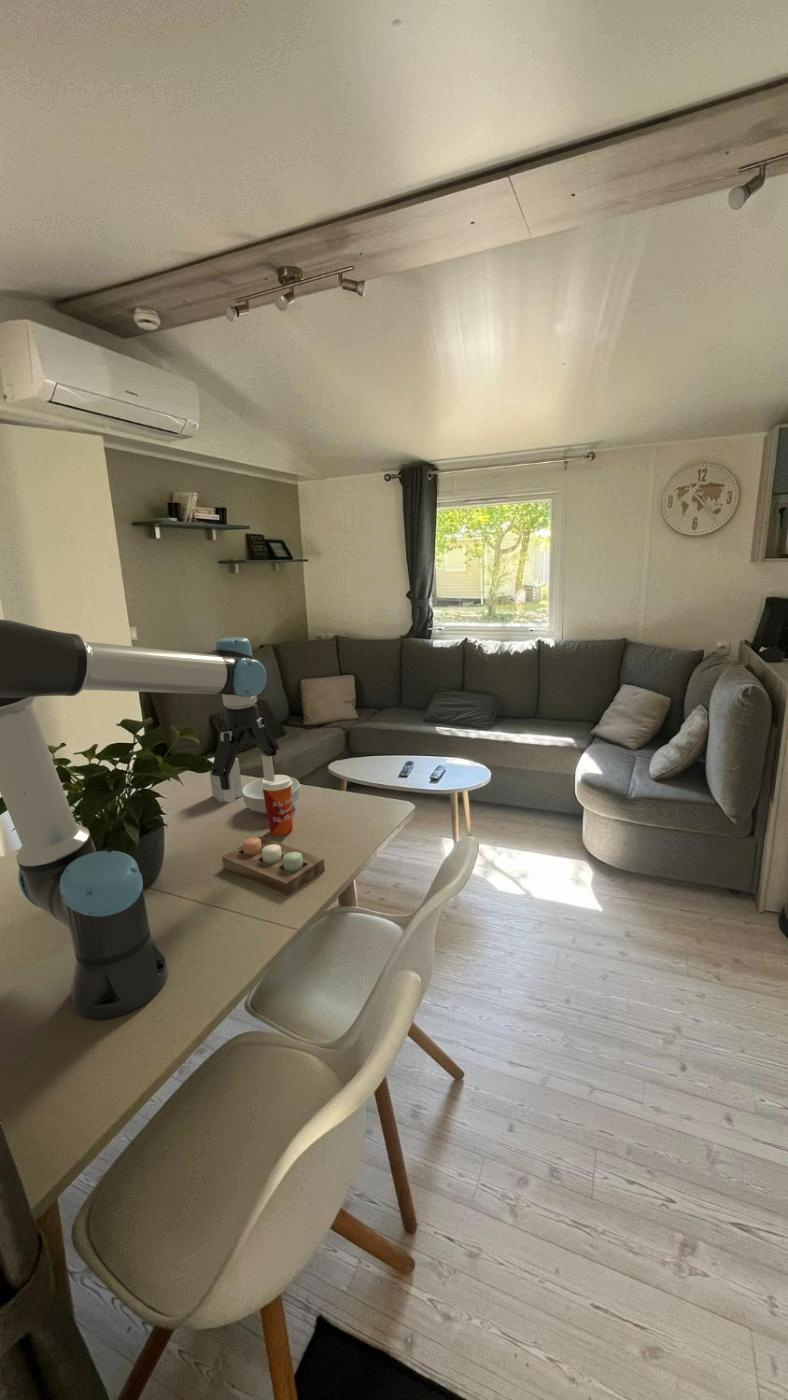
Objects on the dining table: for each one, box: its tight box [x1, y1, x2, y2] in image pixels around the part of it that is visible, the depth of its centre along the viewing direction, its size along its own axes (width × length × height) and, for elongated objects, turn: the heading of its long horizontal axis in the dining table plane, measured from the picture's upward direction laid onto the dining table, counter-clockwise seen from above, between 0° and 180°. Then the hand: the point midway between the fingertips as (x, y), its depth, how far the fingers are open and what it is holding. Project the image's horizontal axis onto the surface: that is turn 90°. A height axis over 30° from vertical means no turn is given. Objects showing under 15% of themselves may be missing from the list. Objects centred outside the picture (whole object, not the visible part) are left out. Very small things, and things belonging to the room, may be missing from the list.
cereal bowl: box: [242, 776, 301, 815], centre depth 167 cm, size 17×17×7 cm
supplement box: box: [207, 756, 243, 803], centre depth 177 cm, size 7×7×13 cm
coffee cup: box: [261, 774, 293, 837], centre depth 151 cm, size 8×8×15 cm
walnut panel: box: [221, 836, 326, 896], centre depth 134 cm, size 12×22×3 cm, turn 54°
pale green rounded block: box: [283, 852, 303, 874], centre depth 129 cm, size 4×4×4 cm
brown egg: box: [241, 836, 262, 857], centre depth 137 cm, size 4×4×4 cm
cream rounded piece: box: [262, 844, 282, 865], centre depth 133 cm, size 4×4×4 cm
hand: (250, 790), depth 135 cm, fingers open, 13 cm apart
